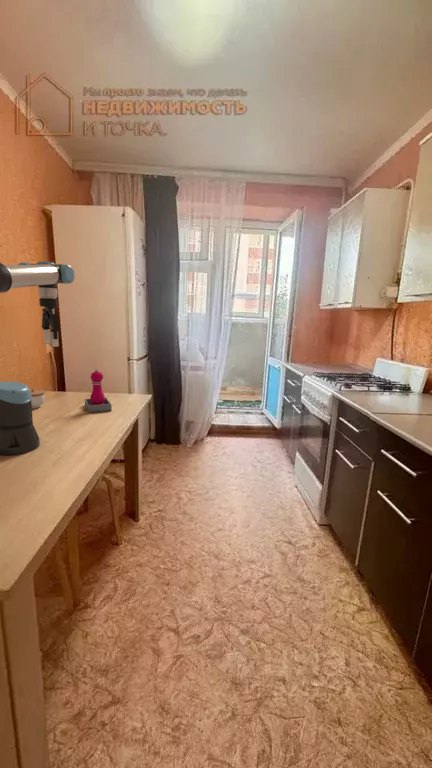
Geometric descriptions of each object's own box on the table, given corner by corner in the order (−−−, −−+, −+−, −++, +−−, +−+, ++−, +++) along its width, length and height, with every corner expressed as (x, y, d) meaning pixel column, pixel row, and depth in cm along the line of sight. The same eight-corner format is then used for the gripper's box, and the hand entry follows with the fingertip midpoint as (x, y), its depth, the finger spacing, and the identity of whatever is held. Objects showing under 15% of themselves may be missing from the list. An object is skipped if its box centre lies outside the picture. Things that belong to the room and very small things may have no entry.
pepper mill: (87, 408, 173) (86, 369, 169) (94, 404, 180) (93, 367, 176) (100, 409, 172) (99, 370, 167) (107, 405, 179) (106, 368, 174)
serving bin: (111, 410, 172) (111, 404, 172) (88, 413, 167) (88, 406, 167) (106, 403, 184) (106, 397, 184) (84, 405, 179) (84, 399, 179)
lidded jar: (38, 410, 168) (37, 391, 166) (17, 409, 169) (15, 390, 167) (49, 404, 179) (48, 386, 177) (29, 403, 179) (27, 386, 177)
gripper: (65, 298, 148) (68, 347, 153) (49, 298, 167) (52, 342, 171) (46, 297, 143) (49, 348, 148) (32, 297, 162) (36, 342, 167)
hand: (51, 344), depth 160 cm, fingers open, 13 cm apart
